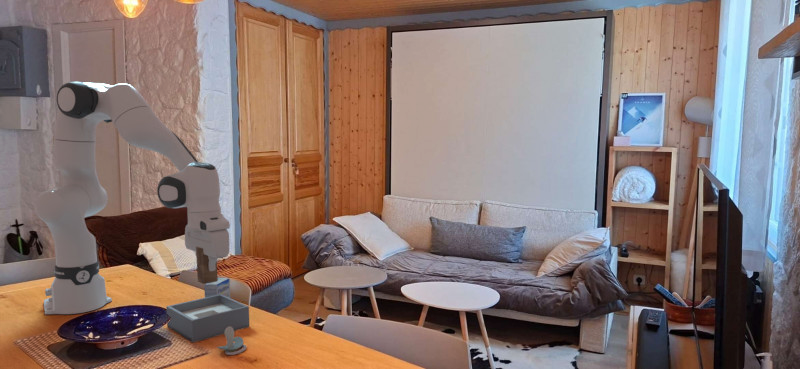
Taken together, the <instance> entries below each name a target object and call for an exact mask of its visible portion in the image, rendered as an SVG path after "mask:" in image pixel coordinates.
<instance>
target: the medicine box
mask: <svg viewBox="0 0 800 369" xmlns="http://www.w3.org/2000/svg"><path fill="white" fill-rule="evenodd" d="M203 285H204V286H203V287H204V291H203V292H204V298H206V297H210V296H215V295H219V294H222V295H224V296H226V297H229V298H231V288H230V278H227V277H218V281H216V282H212V283H207V284H203Z"/></svg>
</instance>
